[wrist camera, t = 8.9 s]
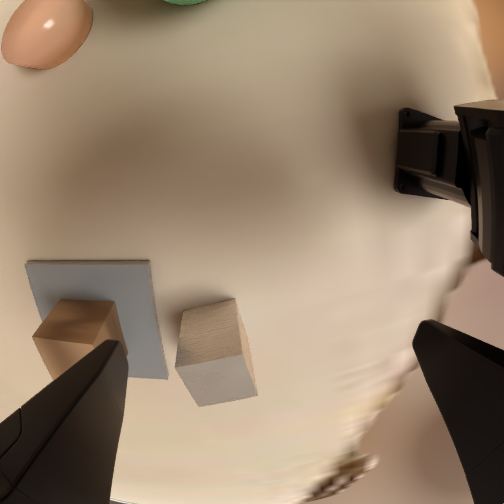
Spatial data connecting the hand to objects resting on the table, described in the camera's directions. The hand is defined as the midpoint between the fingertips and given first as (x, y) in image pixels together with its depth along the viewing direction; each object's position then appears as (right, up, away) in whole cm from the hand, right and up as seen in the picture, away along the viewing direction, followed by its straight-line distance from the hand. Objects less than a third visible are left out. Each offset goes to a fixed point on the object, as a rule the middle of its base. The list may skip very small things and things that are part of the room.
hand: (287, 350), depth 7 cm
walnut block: (-13, -3, +12) cm, 18 cm away
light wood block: (-4, -3, +14) cm, 14 cm away
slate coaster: (-14, -3, +12) cm, 19 cm away
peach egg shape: (-15, +18, +4) cm, 24 cm away
